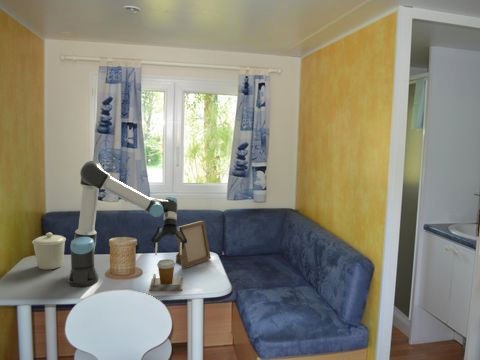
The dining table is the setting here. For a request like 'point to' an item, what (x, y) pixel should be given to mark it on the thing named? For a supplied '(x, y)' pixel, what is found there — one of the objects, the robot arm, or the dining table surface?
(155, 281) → the rail cradle
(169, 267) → the disposable coffee cup
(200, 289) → the dining table surface
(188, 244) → the photo frame
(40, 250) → the canister
